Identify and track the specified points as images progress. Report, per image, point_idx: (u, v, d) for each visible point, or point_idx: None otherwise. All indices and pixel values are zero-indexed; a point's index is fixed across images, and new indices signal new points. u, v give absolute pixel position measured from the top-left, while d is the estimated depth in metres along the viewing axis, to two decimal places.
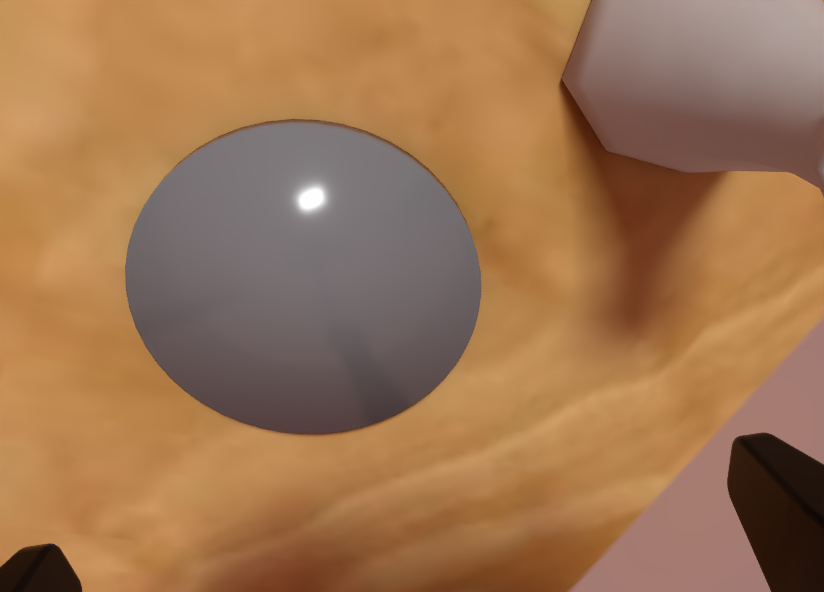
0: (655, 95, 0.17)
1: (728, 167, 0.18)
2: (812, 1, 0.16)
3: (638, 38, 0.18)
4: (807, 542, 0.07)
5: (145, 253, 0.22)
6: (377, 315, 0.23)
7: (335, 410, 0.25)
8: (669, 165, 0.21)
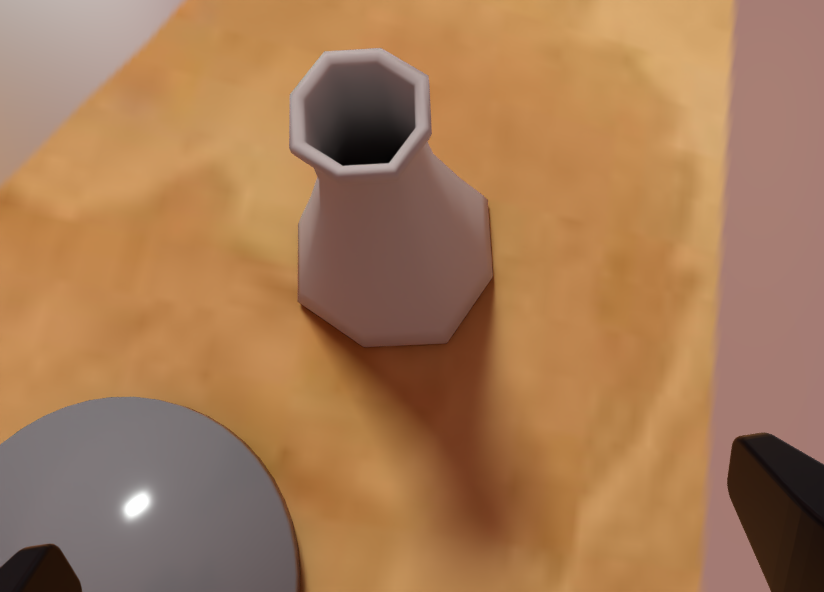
0: (311, 246, 0.20)
1: (412, 283, 0.20)
2: (389, 141, 0.20)
3: (306, 228, 0.22)
4: (807, 542, 0.07)
5: None
6: (182, 588, 0.21)
7: None
8: (414, 332, 0.22)
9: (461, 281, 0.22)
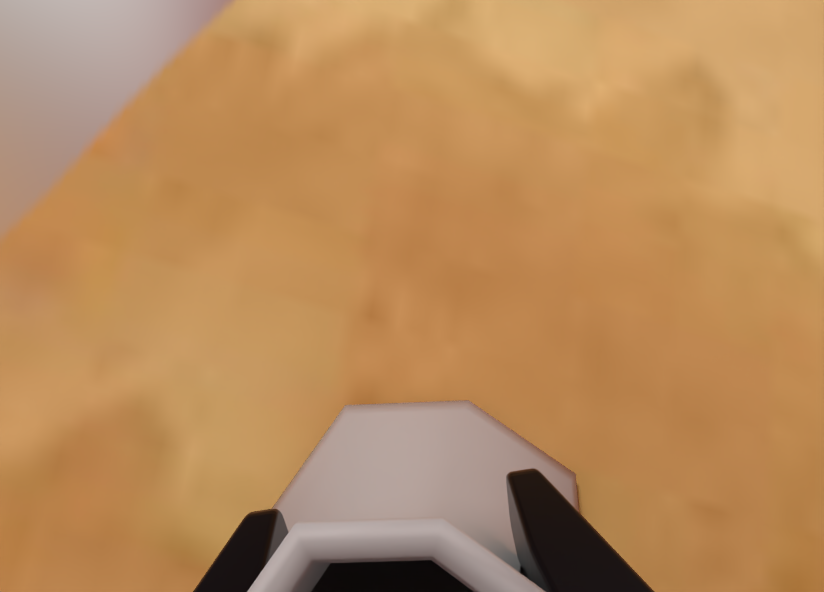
0: None
1: None
2: (427, 461, 0.11)
3: None
4: (536, 584, 0.07)
5: None
6: None
7: None
8: None
9: None
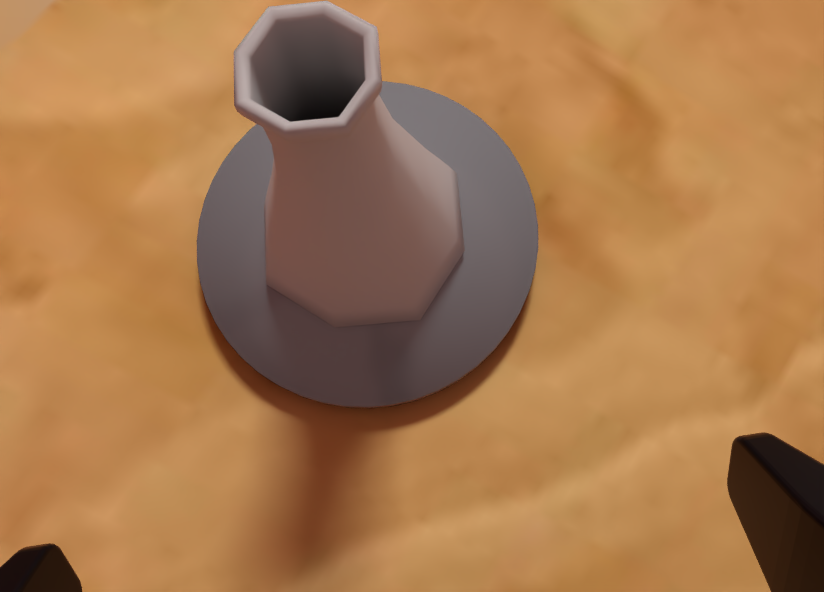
0: (274, 221, 0.19)
1: (378, 254, 0.19)
2: None
3: (269, 205, 0.21)
4: (807, 542, 0.07)
5: (234, 169, 0.24)
6: None
7: (366, 373, 0.22)
8: (385, 309, 0.22)
9: (431, 254, 0.21)
